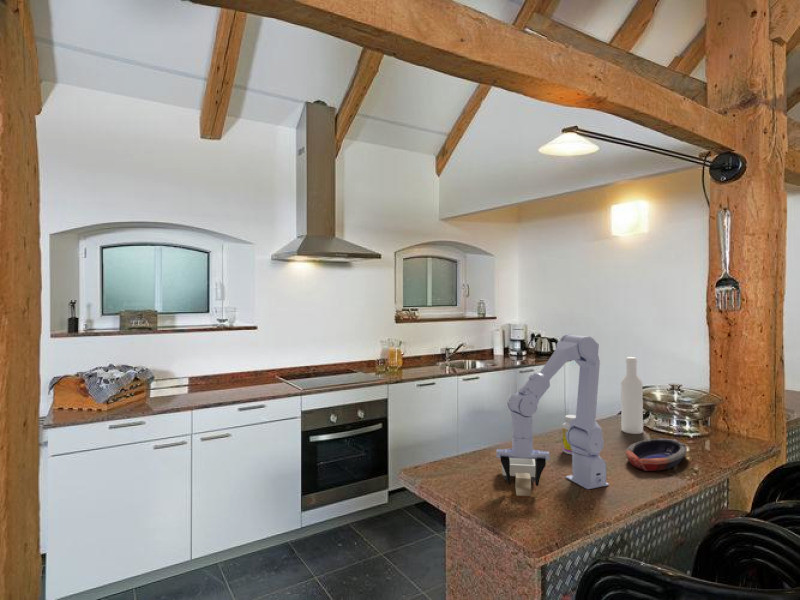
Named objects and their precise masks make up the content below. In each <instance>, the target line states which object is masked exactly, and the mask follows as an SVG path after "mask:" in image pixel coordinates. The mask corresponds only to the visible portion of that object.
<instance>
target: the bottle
mask: <svg viewBox="0 0 800 600" xmlns="http://www.w3.org/2000/svg"><path fill="white" fill-rule="evenodd" d="M625 361H626V362H625V363H626V375H624V376H623V377H622V379H621V381H620V386H621V387H620V391H621V392H620V396H621V397H620V403H621V405H620V406H621V407H620V409H621V411H620V412H621V414H620V415H621V423H620V425H621V426H620V427H621V431H622V432H624V433H626V434H630V435H640V434H642V433H643V432H644V417H643V415H644V412H643V410H644V407H643V406H644V405H643V402H644V400H643V399H644V398H643V394H644V393H643V381H642V378H640V377H639V376H638V374H637V363H638V359H637V357H636V356H635V357H634V356H627V357H626V360H625Z"/></svg>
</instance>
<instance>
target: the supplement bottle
mask: <svg viewBox="0 0 800 600" xmlns="http://www.w3.org/2000/svg"><path fill="white" fill-rule="evenodd" d="M575 418H576V414H567V415H565V416H564V419H565V422H564V423H562V451H563V452H564V453H565V454H567V455H571V456H572V449H571V445H570V444H569V443H568V442H567V438H566V435H567V432H568V430H569V427H570V422H571V421H572V420H574V419H575Z"/></svg>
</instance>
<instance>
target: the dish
mask: <svg viewBox="0 0 800 600" xmlns="http://www.w3.org/2000/svg"><path fill="white" fill-rule="evenodd" d="M686 453H687V445H686V444H685V443H682V441H679V440H676V439H671V438H649V439H642V440H640V441H637V442H634V443H632V444H630V445H628V447H627V448H626V449H625V456H626V457H627V460H628V461H629V463H630V464H631V465H632V466H633V467H635V468H638V469H639V470H642V471H645V472H653V471H654V472H655V471H663V470H668V469H670V468H673V467H675V466H677V465H679V464H680V463H681V462H682V460H683V459H684V457H685V455H686Z"/></svg>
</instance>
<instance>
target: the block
mask: <svg viewBox="0 0 800 600" xmlns="http://www.w3.org/2000/svg"><path fill="white" fill-rule="evenodd" d="M514 477H515V478H514V479H515V484H514V485H515V495H516V496H520V497H532V483H531V477H530V473H515V476H514Z"/></svg>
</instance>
